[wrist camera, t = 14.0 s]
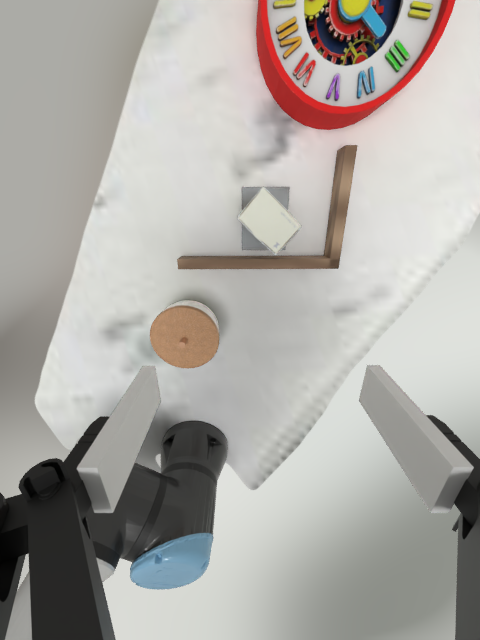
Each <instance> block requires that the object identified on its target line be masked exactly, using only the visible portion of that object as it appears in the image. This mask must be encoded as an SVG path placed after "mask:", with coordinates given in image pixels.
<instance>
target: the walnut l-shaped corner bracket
mask: <svg viewBox="0 0 480 640" xmlns="http://www.w3.org/2000/svg"><path fill="white" fill-rule="evenodd" d="M356 151H357V145H346V146H344V147H343V148H341V149H340V150H338V151H337V158H336V166H335V174H334V182H333V189H332V197H331V205H330V213H329V220H328V228H327V236H326V244H325V252H324V256H181V257H180V258H179V259H177V261H178V269H338V267H339V261H340V255H341V248H342V242H343V235H344V229H345V222H346V216H347V209H348V203H349V196H350V190H351V183H352V177H353V170H354V164H355V157H356ZM261 188H262V187H242V210H243V209H244V208H245V207H246V206H247V204H248V203H249V202H250V201H251V200H252V198H253V197H254V196H255V195H256V194H257V193H258V192H259V190H260V189H261ZM265 188H266V189H267V190H268V191H269V192H270V193H271V194H272V195H273V196H274V197H275V198H276V199H277V200H278V201H279V202H280V203H281V204H282V205H283V206H284V207H285V208H286V209H287V210H288V201H289V187H265ZM285 246H286V245H285ZM285 246H284V247H283V249H282V250H285ZM242 250H269V249H268V248H267V247H266V246H264V245H263V244H262V243H261V242H260V241H259V240H258V239H257V238H256V237H255V236H254V235H253V234H252V233H251V232H250V231H249V230H248V229H247V228H246V227H245V226H244V225H243V224H242Z"/></svg>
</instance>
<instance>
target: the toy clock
mask: <svg viewBox="0 0 480 640" xmlns="http://www.w3.org/2000/svg"><path fill="white" fill-rule="evenodd" d="M454 3H455V0H259V1H258V12H257V28H256V36H257V51H258V56H259V61H260V67H261V70H262V73H263V76H264V79H265V82H266V85H267V87H268V88H269V90H270V92H271V94H272V96H273V98H274V99H275V101H276V102H277V103H278V104H279V106H280V107H281V108H282V110H283V111H285V112H286V113H287V114H288V115H289V116H290V117H292V118H293V119H294V120H296V121H298V122H300V123H301V124H303V125H305V126H309V127H312V128H315V129H325V130H331V129H338V128H343V127H346V126H349V125H352V124H355V123H356V122H358V121H360V120H362V119H363V118H365V117H367V116H368V115H370V114H371V113H372V112H373V111H375V110H376V109H377V108H378V107H380V106H381V105H382V104H384V103H385V102H386V101H387V100H389V99H390V98H391V97H392V96H394V95H395V94H396V93H397V92H399V91H400V90H401V89H402V88H404V87H405V86H406V85H407V84H408V83H409V82H410V81H411V80H412V78H413V77H414V76H415V75H416V74H417V73H418V72H419V71H420V69H421V68H422V67H423V65H424V64H425V62H426V61H427V60H428V58H429V57H430V55H431V54H432V52H433V51H434V49H435V47H436V45H437V43H438V42H439V40H440V38H441V36H442V34H443V32H444V30H445V27H446V25H447V23H448V20H449V18H450V15H451V13H452V10H453V7H454Z"/></svg>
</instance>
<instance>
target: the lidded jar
mask: <svg viewBox="0 0 480 640" xmlns="http://www.w3.org/2000/svg"><path fill="white" fill-rule="evenodd" d="M150 340H151V344H152V346H153V349H154V350H155V352H156V353H157V354H158V356H159V357H160V358H162V359H163V360H164V361H165V362H167V363H169V364H171V365H173V366H176V367H180V368H195V367H199V366H201V365H204V364H205V363H207V362H208V361H210V360H211V359H212V358H213V356H214V355H215V353H216V352H217V349H218V345H219V324H218V321H217V318H216V317H215V315H214V313H213V312H212V311H211V310H210V309H209V308H208V307H207V306H206V305H204V304H202V303H200V302H197V301H192V300H183V301H179V302H176V303H174V304H172V305H170V306H169V307H167V308H166V309H165V310H164V311H163V312H161V313H160V314H159V315H158V316H157V317H156V319H155V320H154V322H153V324H152V326H151V330H150Z"/></svg>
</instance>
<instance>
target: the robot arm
mask: <svg viewBox="0 0 480 640" xmlns="http://www.w3.org/2000/svg"><path fill="white" fill-rule="evenodd" d="M160 402H161V398H160V392H159V386H158V380H157V375H156V369H155V366H142V368H141V369H140V371H139V373H138V374H137V376H136V377H135V379H134V380H133V382H132V383H131V385H130V386H129V388H128V389H127V391H126V393H125V394H124V396H123V397H122V399H121V400H120V402H119V403H118V405H117V406H116V408H115V410H114V411H113V413H112V414H111V416H110V417H99V418H98V419H97V420H95V421H94V422H93V423H92V424H91V425H90V426H89V427H88V429H87V430H86V431H85V433H84V435H83V436H82V437H81V438H80V440H79V441H78V444H76V445H75V447H74V448H73V450H72V451H71V452H70V454H69V455H68V457H67V458H66V460H65V461H64V462H62V460H60V459H57V458H56V459H48V460H46V461H43V462H40V463H39V464H37V465H35V466H34V467H32V468H31V469H30V470H29V471H28V472H27V473H25V475H24V476H23V478H22V479H21V481H20V484H19V489H20V491H21V493H22V494H20V495H17V496H14V497H10V498H7V499H5V498H4V496H3V495H2V494H1V493H0V640H115V635H114V631H113V627H112V623H111V618H110V614H109V610H108V605H107V601H106V597H105V593H104V588H103V584H102V582H104V581H105V580H106V579H107V578H109V577H110V576H111V575H112V574H114V571H115V569H116V566H117V564H118V561H119V559H120V558H122V559H125V560H128V561H131V562H132V565H131V568H130V578H131V580H132V582H135V583H136V585H138V586H140V587H143V588H148V589H171V588H177V587H181V586H184V585H187V584H190V583H192V582H194V581H195V580H197V579H198V578H199V577H201V576H202V575H203V573H204V572H205V570H206V569H207V567H208V564H209V559H210V552H211V546H212V541H213V525H214V512H215V500H216V499H215V498H216V487H217V480H218V477H219V475H220V473H221V470H222V468H223V465H224V463H225V461H226V458H227V449H228V444H227V440H226V438H225V436H224V435H223V433H222V432H221V431H220V430H218V429H217V428H216V427H214V426H212V425H210V424H207V423H203V422H197V421H189V422H183V423H179V424H177V425H175V426H173V427H172V428H170V429H169V430H168V431H167V433H166V434H165V436H164V439H163V442H162V445H161V474H160V473H158V472H156V471H154V470H151V469H149V468H147V467H144V466H142V465H140V464H138V463H135V460H136V458H137V456H138V453H139V451H140V449H141V446H142V444H143V442H144V439H145V437H146V435H147V432H148V430H149V428H150V425H151V423H152V421H153V418H154V416H155V414H156V411H157V409H158V407H159V404H160ZM359 402H360V403H361V405H362V406H363V408H364V409H365V411H366V412H367V414H368V416H369V417H370V419H371V420H372V422H373V424H374V425H375V427H376V428H377V430H378V431H379V433H380V435H381V436H382V437H383V439H384V441H385V442H386V444H387V446H388V447H389V449H390V450H391V452H392V453H393V455H394V457H395V458H396V460H397V461H398V463H399V464H400V466H401V468H402V469H403V471H404V472H405V474H406V475H407V477H408V478H409V480H410V482H411V483H412V485H413V486H414V488H415V489H416V491H417V493H418V494H419V496H420V497H421V499H422V501H423V502H424V504H425V505H426V507H427V508H428V510H429V511H430V513H449V512H450V510H451V508H452V506H453V505H454V504H455V505H456V506H457V508H458V509H459V510H460V512H461V514H460V516H459V517H458V519H457V521H456V523H455V525H454V526H453V529H452V530H453V531H456V530H457V529H458V559H457V596H456V597H457V598H456V635H455V640H480V459H479V458H478V457H477V456H476V455H475V454H474V453H473V452H472V451H471V450H470V449H469V448H468V447H467V446H466V445H465V444H464V443H463V442H461V440H460V439H459V438H458V437H457V436H456V435H454V433H453V432H452V430H450V429H449V427H448V426H447V425H446V424H445V423H443V422H442V421H440V420H439V419H437V418H436V417H434V416H432V415H425V414H424V413H423V412H422V411H421V410H420V408H419V407H418V406H417V405H416V404H415V403H414V402H413V401H412V400H411V399H410V398H409V397H408V396H407V394H406V393H405V392H404V391H403V390H402V389H401V388H400V387H399V386H398V385H397V384H396V383H395V381H394V380H393V379H392V378H391V377H390V376H389V375H388V374H387V373H386V372H385V371H384V370H383V368H382V367H381V366H379V365H371V366H370V365H367V368H366V373H365V377H364V381H363V386H362V390H361V394H360V398H359ZM28 553H29V572H28V574H27V576H26V577H25V579H24V581H23V582H22V584H21V586H20V587H19V589H18V591H17V588H18V584H19V580H20V576H21V571H22V567H23V563H24V559H25V555H26V554H28Z"/></svg>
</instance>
